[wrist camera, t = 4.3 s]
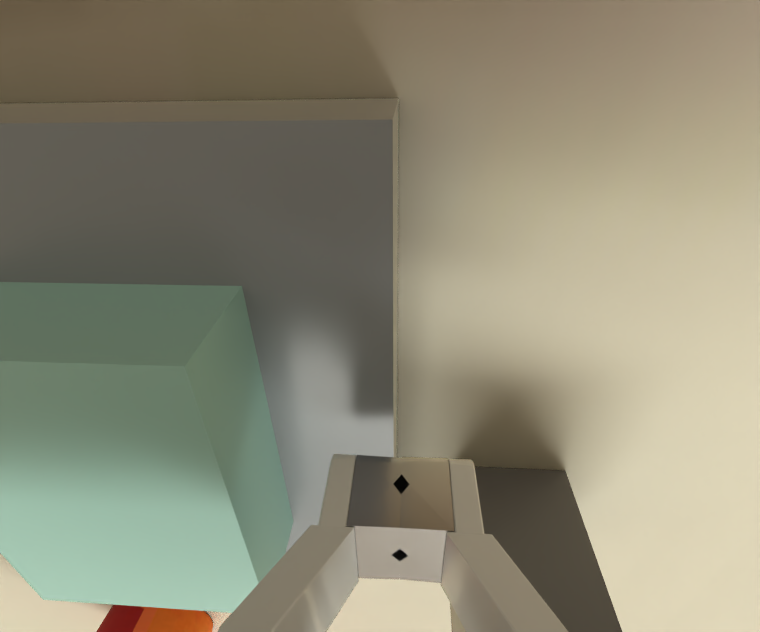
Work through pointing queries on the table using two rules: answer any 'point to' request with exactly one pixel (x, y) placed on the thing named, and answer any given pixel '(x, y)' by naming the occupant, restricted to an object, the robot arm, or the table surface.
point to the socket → (233, 242)
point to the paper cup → (155, 620)
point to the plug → (546, 544)
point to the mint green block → (136, 445)
